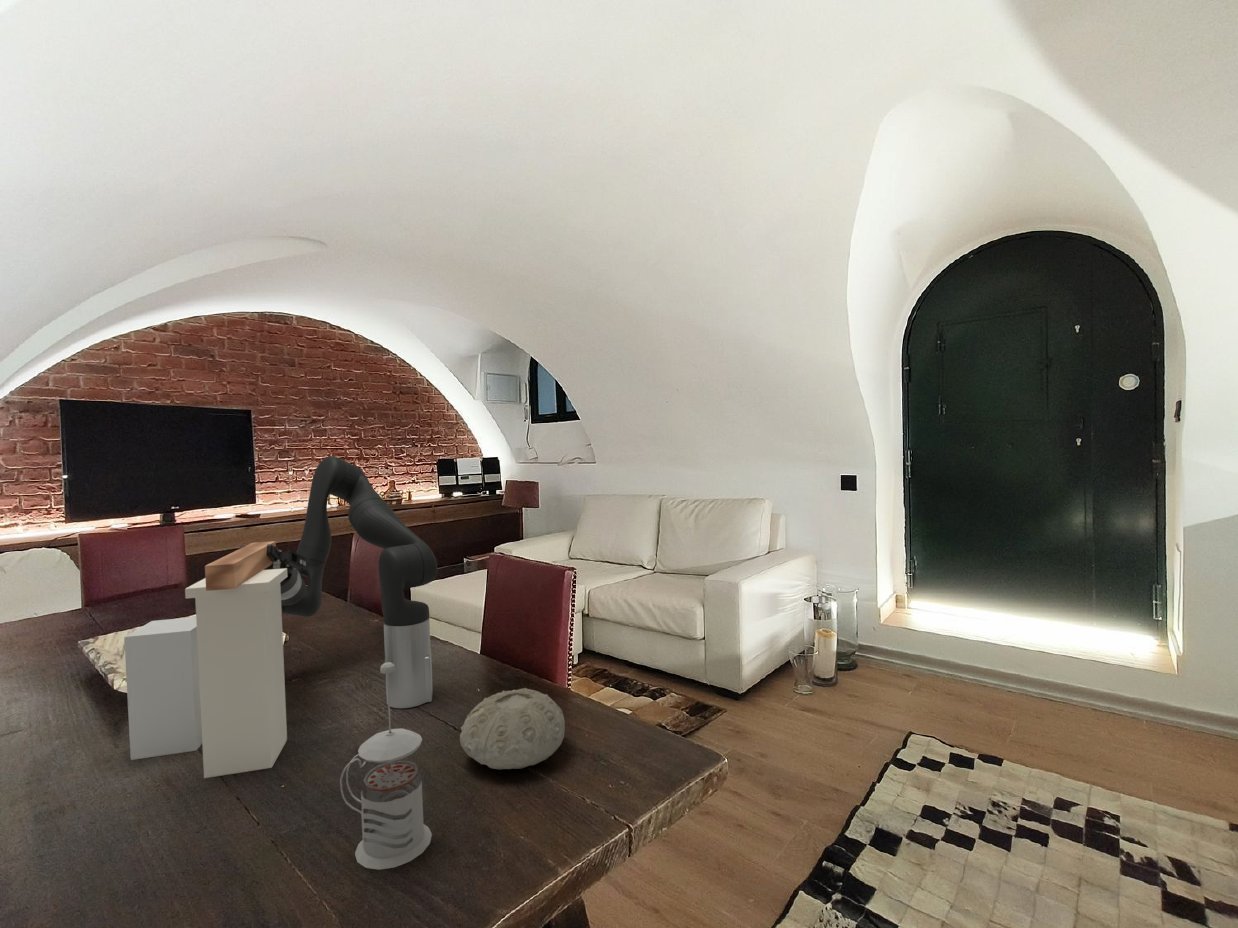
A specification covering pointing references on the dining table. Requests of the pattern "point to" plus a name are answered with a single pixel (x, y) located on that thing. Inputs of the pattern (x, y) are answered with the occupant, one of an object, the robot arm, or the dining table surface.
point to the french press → (398, 828)
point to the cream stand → (241, 673)
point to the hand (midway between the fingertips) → (255, 549)
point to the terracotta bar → (237, 566)
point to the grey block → (163, 688)
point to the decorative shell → (513, 729)
